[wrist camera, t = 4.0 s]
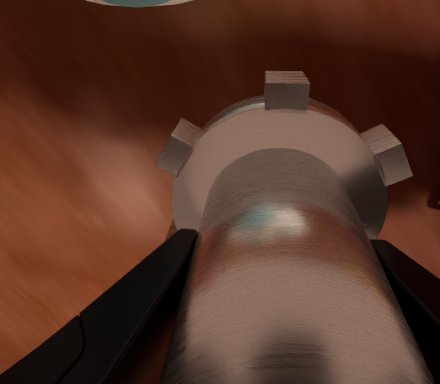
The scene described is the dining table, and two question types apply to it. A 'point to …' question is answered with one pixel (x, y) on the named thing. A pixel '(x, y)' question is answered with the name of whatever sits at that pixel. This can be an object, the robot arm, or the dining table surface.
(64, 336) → the robot arm
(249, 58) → the dining table surface
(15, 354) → the dining table surface
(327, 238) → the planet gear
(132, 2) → the carrier plate
